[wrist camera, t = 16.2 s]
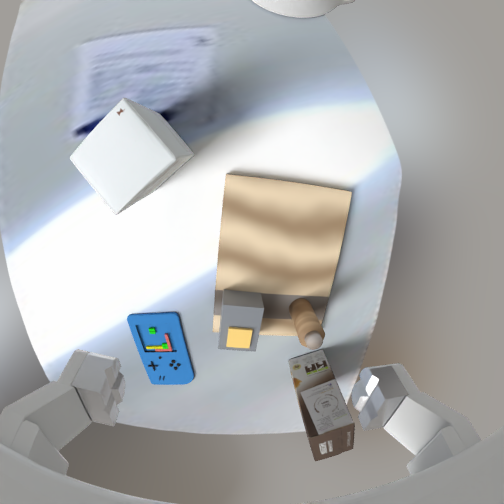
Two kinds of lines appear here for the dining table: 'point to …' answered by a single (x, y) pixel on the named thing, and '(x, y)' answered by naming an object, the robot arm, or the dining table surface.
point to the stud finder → (240, 320)
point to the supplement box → (130, 154)
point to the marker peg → (306, 324)
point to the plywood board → (279, 246)
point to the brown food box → (321, 406)
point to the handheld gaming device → (162, 347)
